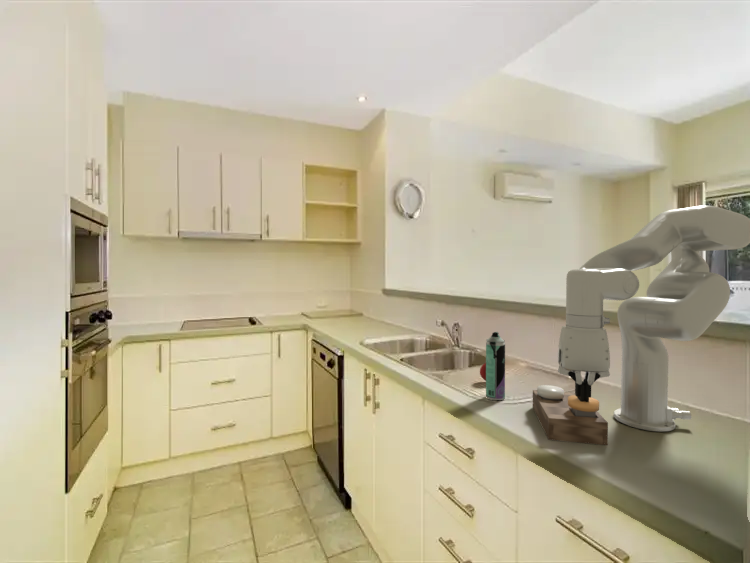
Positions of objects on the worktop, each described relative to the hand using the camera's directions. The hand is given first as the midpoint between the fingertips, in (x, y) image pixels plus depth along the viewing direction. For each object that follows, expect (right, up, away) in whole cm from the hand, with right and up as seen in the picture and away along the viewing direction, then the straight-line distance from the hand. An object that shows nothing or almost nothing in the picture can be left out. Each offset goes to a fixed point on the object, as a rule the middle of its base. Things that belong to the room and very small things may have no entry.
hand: (582, 399), depth 86 cm
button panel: (-1, -8, +6) cm, 10 cm away
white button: (-2, -7, +11) cm, 14 cm away
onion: (-10, -7, +40) cm, 42 cm away
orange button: (0, -7, 0) cm, 7 cm away
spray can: (-12, -8, +25) cm, 29 cm away
